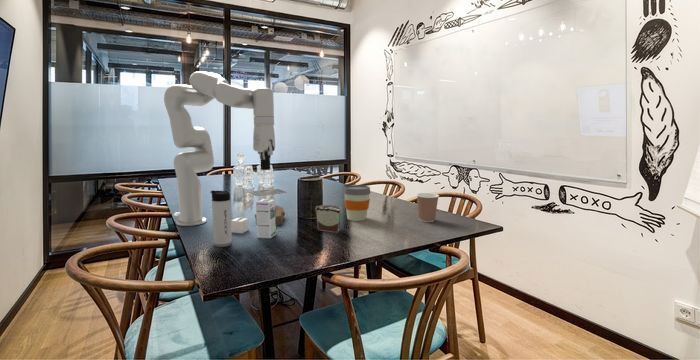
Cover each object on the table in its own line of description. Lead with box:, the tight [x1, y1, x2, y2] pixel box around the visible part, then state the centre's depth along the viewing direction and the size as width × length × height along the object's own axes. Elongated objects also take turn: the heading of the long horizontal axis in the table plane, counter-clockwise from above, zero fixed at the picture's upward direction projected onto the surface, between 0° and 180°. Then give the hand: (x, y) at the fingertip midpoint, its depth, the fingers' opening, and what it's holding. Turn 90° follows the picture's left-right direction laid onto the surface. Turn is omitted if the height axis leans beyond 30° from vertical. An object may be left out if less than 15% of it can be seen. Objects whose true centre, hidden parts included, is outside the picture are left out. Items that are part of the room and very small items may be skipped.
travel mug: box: [210, 189, 233, 248], centre depth 138 cm, size 6×7×20 cm
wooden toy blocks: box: [254, 204, 286, 226], centre depth 173 cm, size 8×13×18 cm
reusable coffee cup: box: [343, 184, 371, 222], centre depth 179 cm, size 13×13×15 cm
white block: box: [231, 217, 250, 234], centre depth 156 cm, size 5×5×5 cm
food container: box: [314, 204, 343, 234], centre depth 159 cm, size 12×6×10 cm, turn 65°
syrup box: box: [255, 198, 277, 239], centre depth 149 cm, size 6×6×14 cm
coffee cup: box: [416, 192, 440, 223], centre depth 176 cm, size 10×10×12 cm
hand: (265, 169), depth 146 cm, fingers closed
